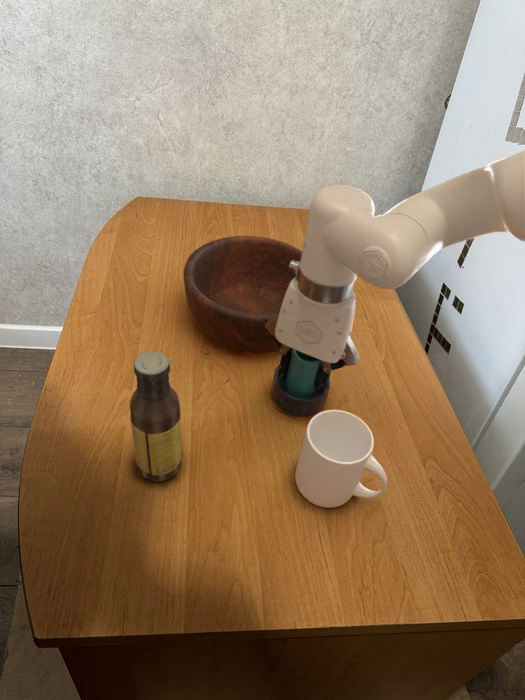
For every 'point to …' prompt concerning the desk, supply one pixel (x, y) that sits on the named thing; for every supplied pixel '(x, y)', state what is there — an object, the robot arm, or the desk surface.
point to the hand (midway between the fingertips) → (303, 375)
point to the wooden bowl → (239, 289)
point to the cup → (302, 374)
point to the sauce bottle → (155, 418)
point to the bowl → (296, 404)
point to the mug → (336, 459)
